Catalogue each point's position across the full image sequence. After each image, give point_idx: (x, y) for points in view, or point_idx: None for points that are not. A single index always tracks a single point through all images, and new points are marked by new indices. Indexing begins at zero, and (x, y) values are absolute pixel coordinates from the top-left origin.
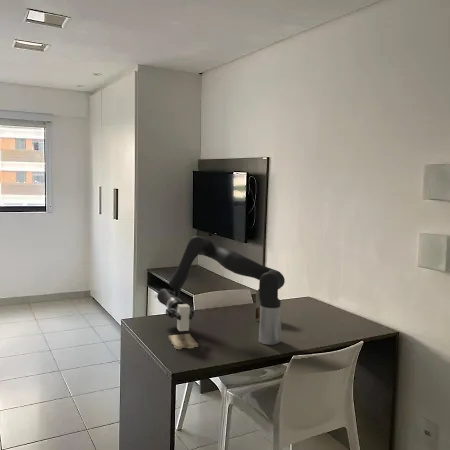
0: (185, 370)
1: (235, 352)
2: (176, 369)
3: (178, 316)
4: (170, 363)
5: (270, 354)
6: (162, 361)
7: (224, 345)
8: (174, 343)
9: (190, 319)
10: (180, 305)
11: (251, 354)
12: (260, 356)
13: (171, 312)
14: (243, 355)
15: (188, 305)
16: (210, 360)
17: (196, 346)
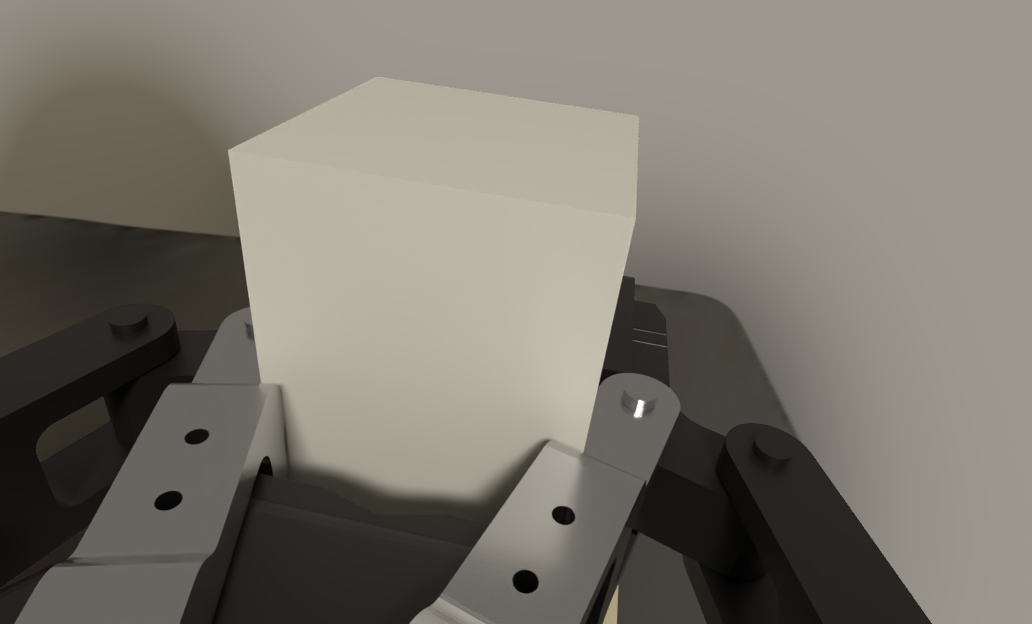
0: (654, 288)
1: (176, 311)
2: (703, 310)
3: (641, 307)
4: (728, 371)
5: (34, 223)
6: (786, 414)
7: (77, 431)
8: (611, 622)
9: None
10: (572, 156)
11: (126, 260)
12: (119, 231)
13: (804, 455)
14: (187, 270)
15: (330, 102)
16: None
17: None
